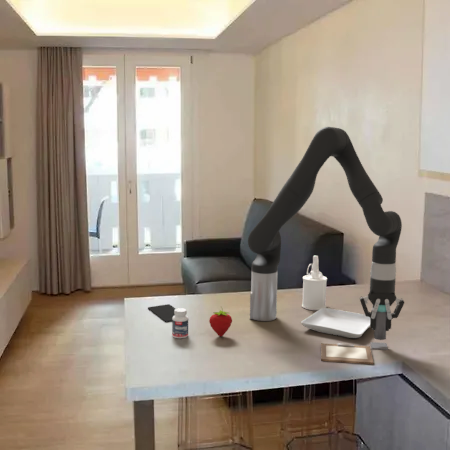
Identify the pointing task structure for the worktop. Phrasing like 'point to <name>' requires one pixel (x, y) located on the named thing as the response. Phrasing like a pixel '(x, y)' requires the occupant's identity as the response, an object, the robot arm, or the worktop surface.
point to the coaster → (379, 345)
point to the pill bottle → (180, 323)
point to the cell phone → (163, 312)
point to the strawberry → (220, 322)
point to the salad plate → (338, 322)
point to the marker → (380, 323)
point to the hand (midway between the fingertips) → (380, 329)
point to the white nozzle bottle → (314, 288)
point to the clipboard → (346, 353)
